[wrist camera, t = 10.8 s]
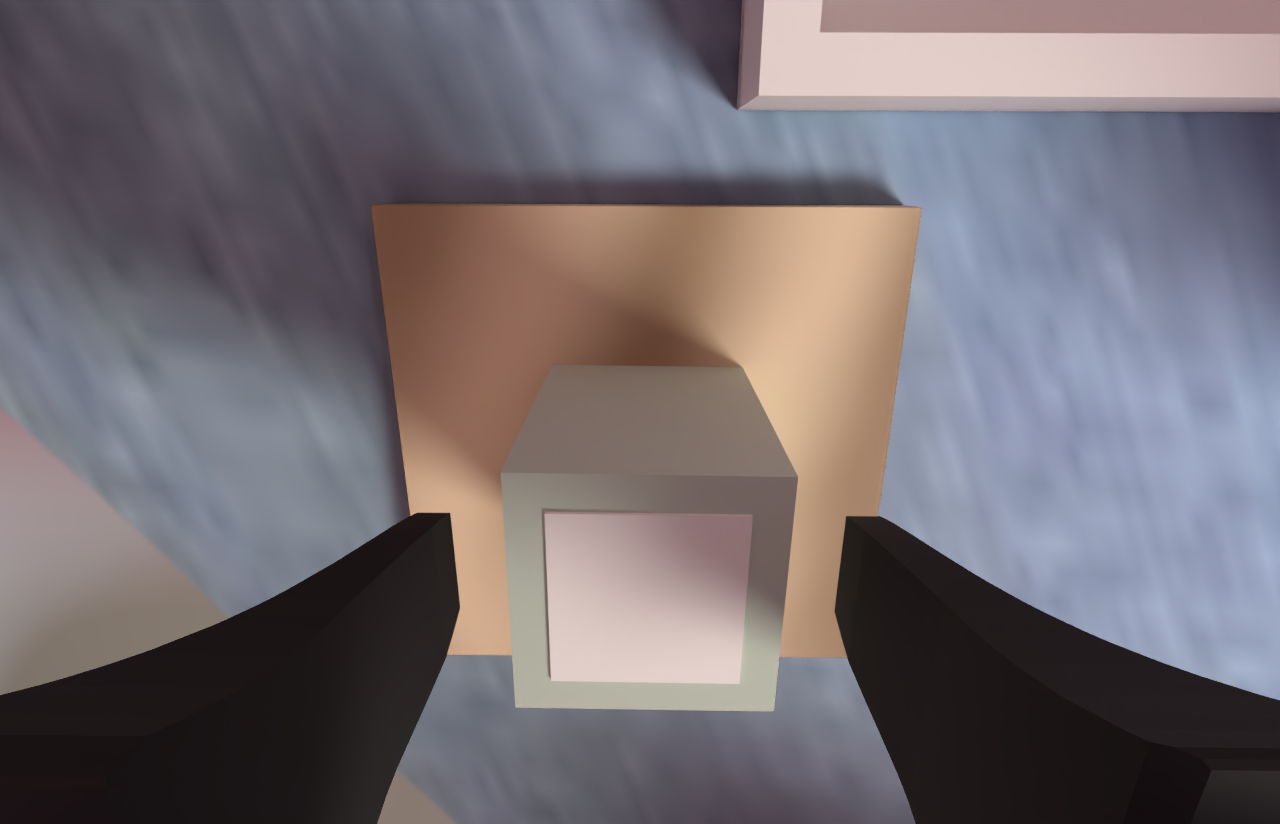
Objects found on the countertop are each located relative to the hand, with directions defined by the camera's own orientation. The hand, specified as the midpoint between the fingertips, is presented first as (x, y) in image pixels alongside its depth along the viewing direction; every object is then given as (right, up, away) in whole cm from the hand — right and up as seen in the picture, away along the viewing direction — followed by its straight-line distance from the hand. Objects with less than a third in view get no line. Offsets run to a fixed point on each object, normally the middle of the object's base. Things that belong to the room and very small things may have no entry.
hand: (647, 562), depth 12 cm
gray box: (0, +2, +4) cm, 5 cm away
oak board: (0, +2, +5) cm, 6 cm away
